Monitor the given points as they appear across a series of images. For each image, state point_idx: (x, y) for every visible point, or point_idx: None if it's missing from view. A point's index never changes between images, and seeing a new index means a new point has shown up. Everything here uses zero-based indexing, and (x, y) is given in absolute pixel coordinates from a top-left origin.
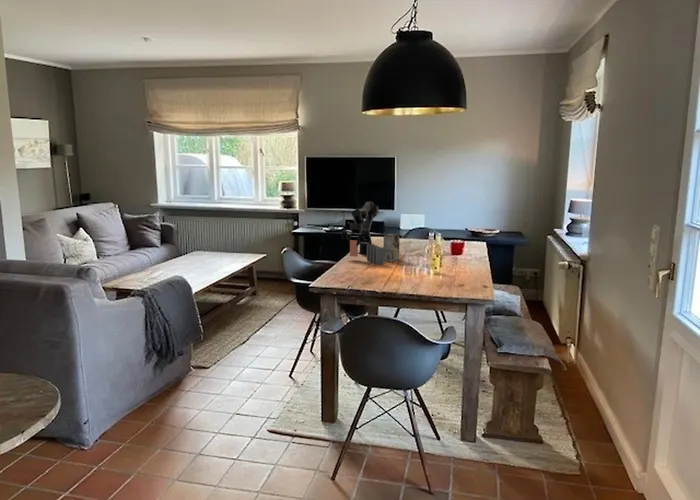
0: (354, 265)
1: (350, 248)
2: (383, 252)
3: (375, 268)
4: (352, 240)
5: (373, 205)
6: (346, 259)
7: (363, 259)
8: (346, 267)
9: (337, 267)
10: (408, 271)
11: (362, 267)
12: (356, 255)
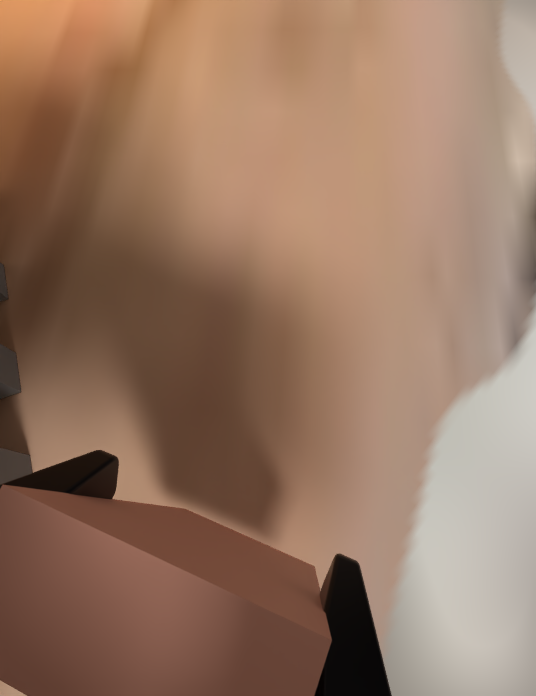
0: (270, 157)
1: (304, 580)
2: None
3: (66, 31)
4: (192, 615)
5: None
6: (378, 610)
7: None
8: (370, 66)
9: (477, 65)
10: None
11: (190, 67)
12: (183, 510)
